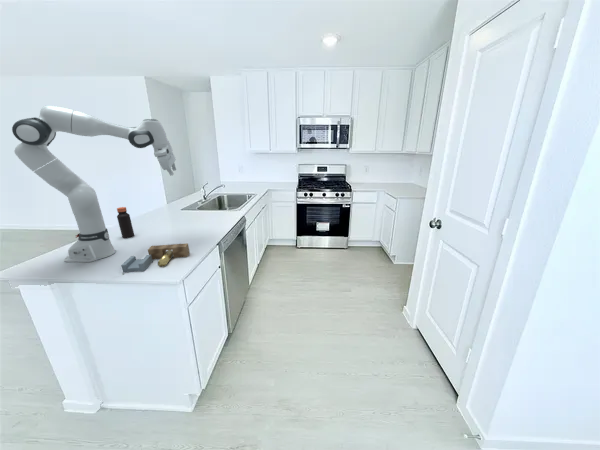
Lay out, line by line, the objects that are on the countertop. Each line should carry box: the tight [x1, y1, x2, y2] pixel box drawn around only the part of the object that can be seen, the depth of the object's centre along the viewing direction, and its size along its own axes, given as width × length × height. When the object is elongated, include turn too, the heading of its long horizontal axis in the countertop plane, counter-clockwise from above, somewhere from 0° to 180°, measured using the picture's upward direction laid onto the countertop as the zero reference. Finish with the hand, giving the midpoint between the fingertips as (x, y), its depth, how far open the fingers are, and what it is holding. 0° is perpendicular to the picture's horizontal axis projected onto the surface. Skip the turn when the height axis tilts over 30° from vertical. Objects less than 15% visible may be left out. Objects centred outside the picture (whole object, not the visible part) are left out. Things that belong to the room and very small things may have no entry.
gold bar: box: [157, 250, 173, 268], centre depth 128 cm, size 12×4×4 cm, turn 10°
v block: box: [121, 254, 153, 274], centre depth 123 cm, size 10×10×4 cm
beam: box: [147, 242, 190, 261], centre depth 134 cm, size 19×5×6 cm, turn 100°
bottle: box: [116, 206, 135, 239], centre depth 161 cm, size 7×7×20 cm
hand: (173, 172), depth 145 cm, fingers open, 8 cm apart
